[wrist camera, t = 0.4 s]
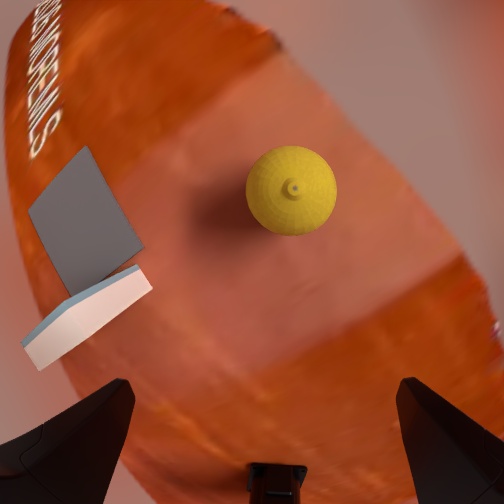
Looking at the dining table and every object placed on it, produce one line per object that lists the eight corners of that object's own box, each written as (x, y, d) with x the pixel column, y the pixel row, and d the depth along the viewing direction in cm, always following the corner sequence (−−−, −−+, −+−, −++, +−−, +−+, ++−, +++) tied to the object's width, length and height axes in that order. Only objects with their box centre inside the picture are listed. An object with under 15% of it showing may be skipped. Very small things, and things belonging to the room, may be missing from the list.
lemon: (321, 232, 22) (345, 249, 14) (249, 225, 22) (233, 240, 15) (327, 159, 21) (353, 139, 13) (254, 153, 21) (241, 129, 14)
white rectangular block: (152, 288, 24) (87, 338, 14) (103, 322, 25) (39, 371, 15) (136, 264, 24) (63, 301, 14) (89, 300, 25) (20, 342, 15)
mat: (144, 247, 23) (142, 248, 23) (77, 301, 25) (74, 302, 25) (87, 146, 22) (84, 145, 22) (30, 210, 24) (27, 210, 24)
